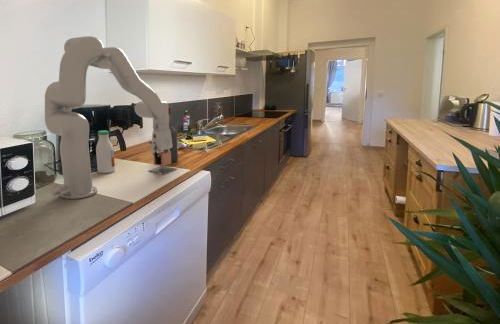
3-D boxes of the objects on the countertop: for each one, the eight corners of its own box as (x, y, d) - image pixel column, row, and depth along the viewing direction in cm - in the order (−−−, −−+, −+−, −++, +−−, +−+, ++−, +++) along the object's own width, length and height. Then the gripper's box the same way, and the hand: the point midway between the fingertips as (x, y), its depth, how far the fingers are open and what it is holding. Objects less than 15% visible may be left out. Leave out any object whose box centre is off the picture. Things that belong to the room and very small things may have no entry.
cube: (163, 166, 151) (163, 154, 149) (153, 164, 153) (153, 152, 152) (171, 163, 156) (170, 151, 155) (161, 161, 159) (161, 150, 157)
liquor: (170, 158, 181) (169, 106, 173) (180, 161, 175) (178, 108, 168) (156, 160, 174) (154, 107, 167) (166, 164, 168) (164, 108, 161)
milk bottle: (108, 174, 146) (105, 132, 141) (94, 172, 148) (90, 131, 143) (118, 170, 154) (115, 130, 149) (104, 168, 155) (101, 129, 150)
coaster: (164, 174, 149) (164, 173, 149) (148, 171, 153) (147, 170, 153) (176, 169, 158) (176, 168, 158) (161, 167, 162) (161, 165, 162)
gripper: (155, 129, 141) (156, 167, 145) (178, 125, 156) (179, 159, 161) (142, 128, 144) (144, 165, 148) (166, 124, 159) (167, 158, 164)
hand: (162, 162), depth 155 cm, fingers closed on cube, 6 cm apart
